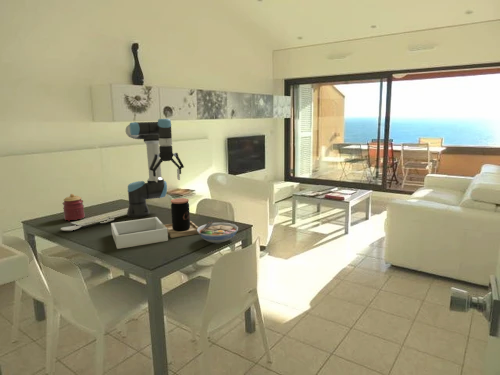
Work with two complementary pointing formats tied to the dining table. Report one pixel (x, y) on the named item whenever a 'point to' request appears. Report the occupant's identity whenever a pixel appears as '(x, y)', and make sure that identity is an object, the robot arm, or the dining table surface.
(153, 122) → the robot arm
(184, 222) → the coffee jar
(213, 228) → the ramen bowl
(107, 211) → the dining table surface
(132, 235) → the crate
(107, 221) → the spoon
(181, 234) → the tray
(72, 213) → the canister
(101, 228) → the dining table surface
